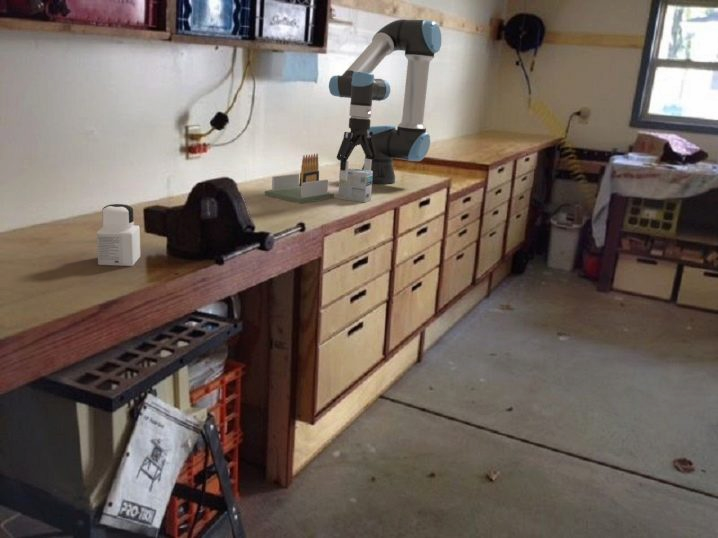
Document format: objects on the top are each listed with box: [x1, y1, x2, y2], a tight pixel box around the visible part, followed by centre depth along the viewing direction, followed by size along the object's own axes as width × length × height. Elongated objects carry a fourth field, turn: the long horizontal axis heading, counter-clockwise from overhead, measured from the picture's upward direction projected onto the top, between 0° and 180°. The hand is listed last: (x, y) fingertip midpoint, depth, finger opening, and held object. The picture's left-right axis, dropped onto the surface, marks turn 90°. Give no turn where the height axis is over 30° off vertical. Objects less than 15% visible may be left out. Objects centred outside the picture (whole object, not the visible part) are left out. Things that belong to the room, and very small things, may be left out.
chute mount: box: [264, 173, 335, 204], centre depth 241 cm, size 18×17×6 cm
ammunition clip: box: [299, 153, 320, 186], centre depth 264 cm, size 11×2×12 cm, turn 149°
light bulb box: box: [337, 167, 373, 203], centre depth 242 cm, size 11×7×11 cm, turn 71°
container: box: [96, 203, 141, 267], centre depth 153 cm, size 8×8×13 cm
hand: (355, 178), depth 241 cm, fingers open, 13 cm apart
